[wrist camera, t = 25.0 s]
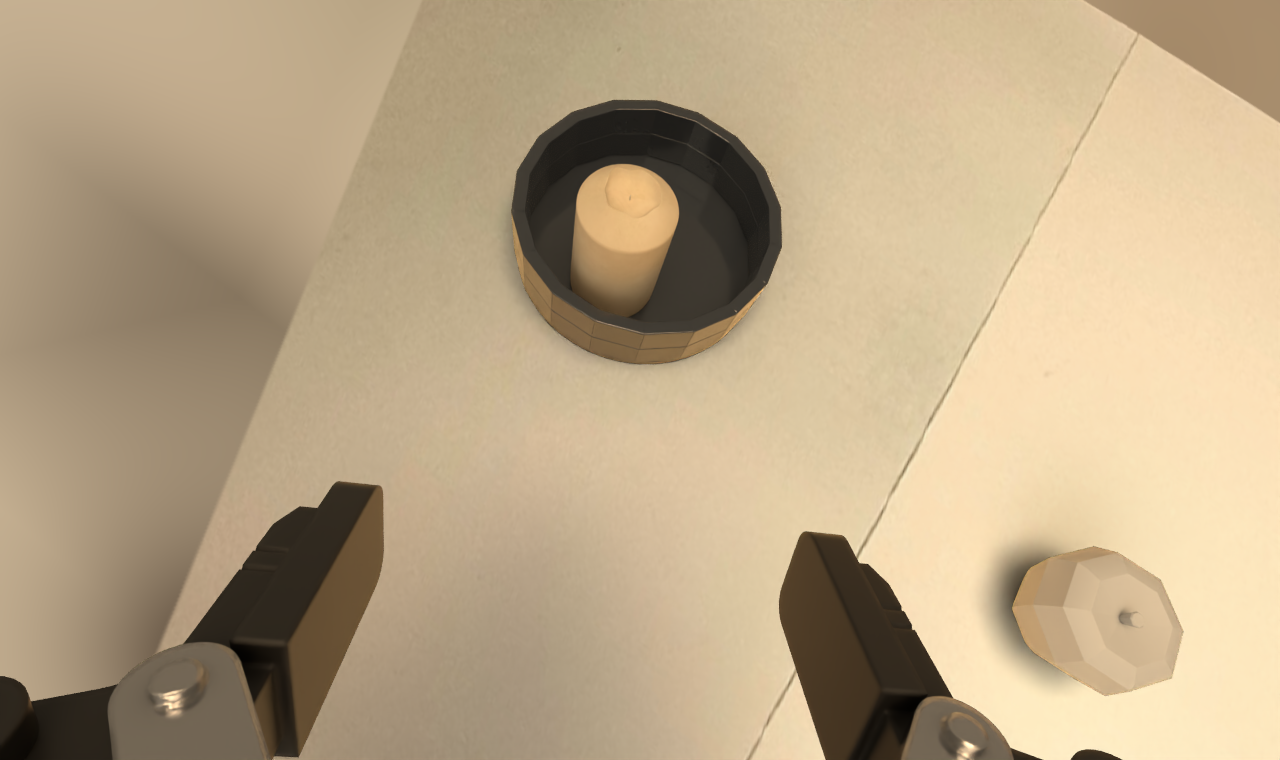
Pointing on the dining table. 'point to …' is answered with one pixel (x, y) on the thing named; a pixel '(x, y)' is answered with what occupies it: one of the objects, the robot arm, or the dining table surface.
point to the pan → (700, 247)
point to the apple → (1099, 620)
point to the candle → (621, 237)
